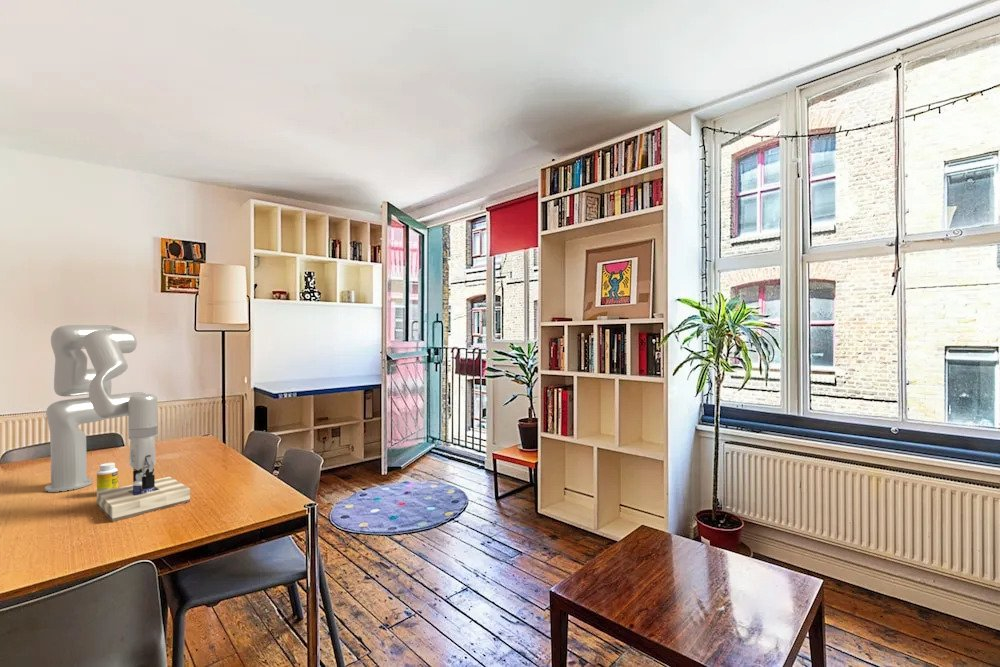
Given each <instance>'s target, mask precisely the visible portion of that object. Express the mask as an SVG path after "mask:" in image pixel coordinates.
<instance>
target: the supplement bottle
mask: <svg viewBox="0 0 1000 667" xmlns="http://www.w3.org/2000/svg"><path fill="white" fill-rule="evenodd" d="M118 471H119V469H118V468H116V463H115V462H106V463H101V464H100V465H99V470H98V471H97V472H96V493H97V492H100V491H104V490H109V489H114V488H118V487H119V472H118Z"/></svg>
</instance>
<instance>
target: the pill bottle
mask: <svg viewBox="0 0 1000 667" xmlns="http://www.w3.org/2000/svg"><path fill="white" fill-rule="evenodd" d="M142 477H143V473H138V474H136V480H137V481H135V482H133V483H132V484H133V495H139V494H143V493H147V492H152V491H153V487H152V488H147V489H142Z"/></svg>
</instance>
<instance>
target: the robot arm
mask: <svg viewBox="0 0 1000 667" xmlns="http://www.w3.org/2000/svg"><path fill="white" fill-rule="evenodd" d="M137 343H138V342H137V337H136V336H135V335H134V334H133V333H132V332H131V331H129V330H128V329H125V328H122V327H118V326H115V325H100V324H99V325H97V324H96V325H94V324H93V325H92V324H71V325H70V324H69V325H62V326H58V327H56V328H55V329H54V330H53V331H52V332H51V336H50V344H51V348H52V351H53V354H54V360H55V361H54V372H53V373H54V378H53V390H54V393H55V394H56V395H58V396H60V397H76V396H78V398H69V399H64V400H63V399H62V400H59V401H55V402H53V403H51V404H50V405H49V406H47V408H46V412H45V415H46V421H47V424H48V429H49V438H50V440H49V442H50V444H49V445H50V484H48V485H46V486H45V487H44V491H45V492H47V491H48V493H60V492H59V491H62V492H68V491H67V490H69V491H73V489H74V490H77V489H81V488H84V487H87V486H89V485H91V484H92V483H93V479H92V478H90V477H88V476H87V473H88V472H87V471H88V470H87V469H88V468H87V467H88V466H87V463H88V462H87V459H88V458H87V435H86V433H85V432H84V431H83V430H82V429H80V427H79V425H84V424H90V423H96V422H100V421H103V420H106V419H107V420H108V419H115V418H122V417H128V418H127V419H128V420H127V421H128V423H127V425H128V440H130V444H129V464H128V465H129V466H130V467H131V468H132V469H133V471H132V476H133V477H132V480H133V481H132V482H133V483H134V482H135V481H137V480H136V474H138V473H143V477H142V489H147V488H152V487H154V486H155V480H156V479H155V466H156V443H155V442H156V441H155V438H156V437H158V397H157V396H156V395H155V394H153V393H152V394H151V393H146V392H143V391H133V392H125V393H115V394H112V379H115V378H117V377H118V376H121V375H123V374H124V373H125V372H126V371H127V370H128V367H129V365H128V364H129V363H128V362H127V360H126V358H125V356H124V354H130V353H133V352H134V351H135V350H136V348H137V346H138V344H137ZM83 349H84V350H85V351H86V352H87V354H86V353H85V352H84V351H83ZM87 355H88V356H87ZM88 357H89V359H90V362H91V364H92V367H93V368H88ZM85 395H87V396H88V397H80V398H79V396H85Z"/></svg>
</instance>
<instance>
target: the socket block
mask: <svg viewBox="0 0 1000 667" xmlns="http://www.w3.org/2000/svg"><path fill="white" fill-rule="evenodd" d="M186 502H189V503H191V488H190V487H188V486H187V485H185V484H183V483H182V482H180V481H178V480H177V479H175V478H173V477H171V476H166V477H161V478H156V479H155V486H154V487H153V491H152V492H147V493H143V494H139V495H133V483H132V484H130V485H129V484H128V485H125V486H118V488H114V489H109V490H104V491H100V492H97V491H96V506H98V507H99V508H100V509H101V510H102V511H103V512H104V513H103V512H102V511H101V510H100V509H99V508H98V507H97V508H98V509H99V510H100V511H101V512H102V513H103V514H104V515H105V516H106V517H107V518H108V519H109V520H110V521H111V522H112V523H115V522H118V520H119V521H122V519H123V520H126V519H130V518H133V516H134V517H137V515H138V516H141V515H140V514H142V515H144V513H146V514H148V512H150V513H153V512H152V511H154V512H156V511H155V510H158V511H160V510H159V509H161V510H164V509H163V508H165V509H168V508H167V507H169V508H172V507H171V506H173V507H176V506H175V505H177V506H179V505H178V504H181V505H183V504H182V503H185V504H187V503H186ZM114 521H115V522H114Z"/></svg>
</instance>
